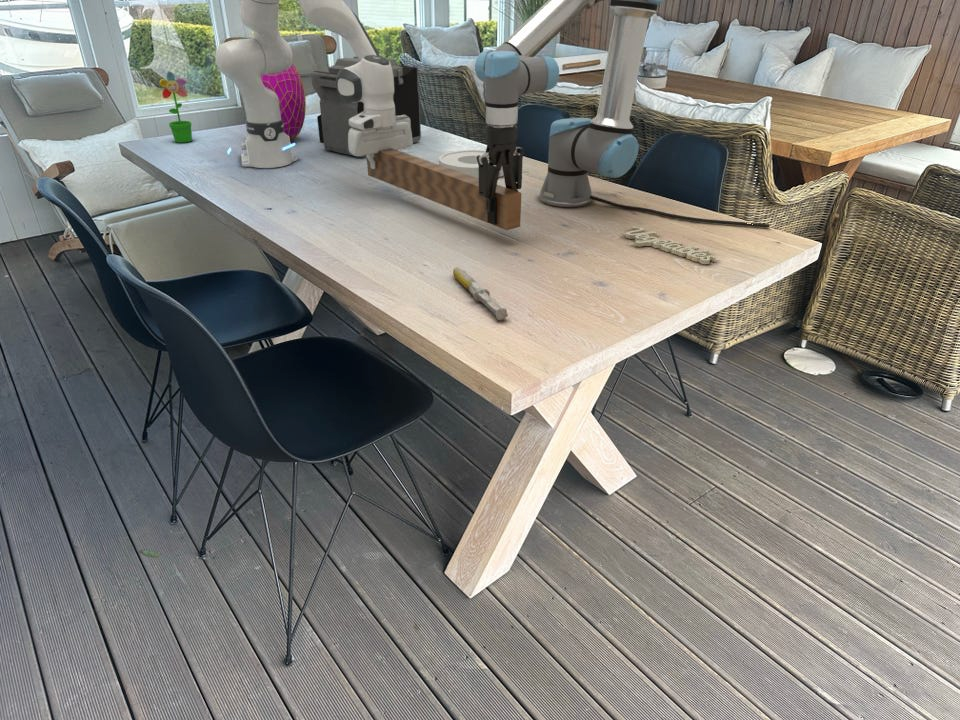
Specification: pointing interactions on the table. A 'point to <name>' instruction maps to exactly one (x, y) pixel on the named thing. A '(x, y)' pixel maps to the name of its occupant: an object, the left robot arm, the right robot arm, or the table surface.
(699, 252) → the decorative sign
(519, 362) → the table surface
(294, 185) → the table surface
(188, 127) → the potted flower
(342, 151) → the cooler box
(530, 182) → the table surface
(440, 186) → the post
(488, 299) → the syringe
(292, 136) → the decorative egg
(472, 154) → the ashtray
